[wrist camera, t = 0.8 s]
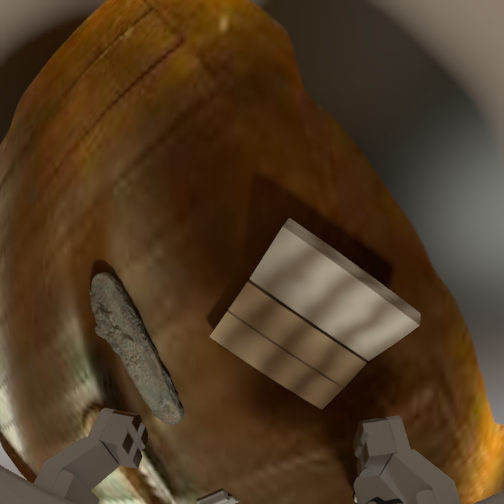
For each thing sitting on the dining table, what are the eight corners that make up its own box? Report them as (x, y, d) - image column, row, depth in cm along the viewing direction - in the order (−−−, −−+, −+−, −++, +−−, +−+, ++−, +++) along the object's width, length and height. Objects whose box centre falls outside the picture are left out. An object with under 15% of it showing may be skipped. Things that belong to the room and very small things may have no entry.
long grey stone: (162, 417, 63) (199, 410, 61) (154, 431, 57) (192, 425, 56) (86, 280, 59) (119, 262, 57) (71, 286, 54) (105, 268, 52)
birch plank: (420, 313, 41) (419, 325, 39) (371, 349, 49) (368, 360, 47) (289, 217, 43) (282, 226, 41) (256, 270, 51) (249, 279, 49)
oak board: (364, 356, 50) (366, 363, 47) (322, 402, 53) (321, 410, 50) (250, 278, 52) (247, 281, 49) (214, 331, 55) (209, 336, 52)
